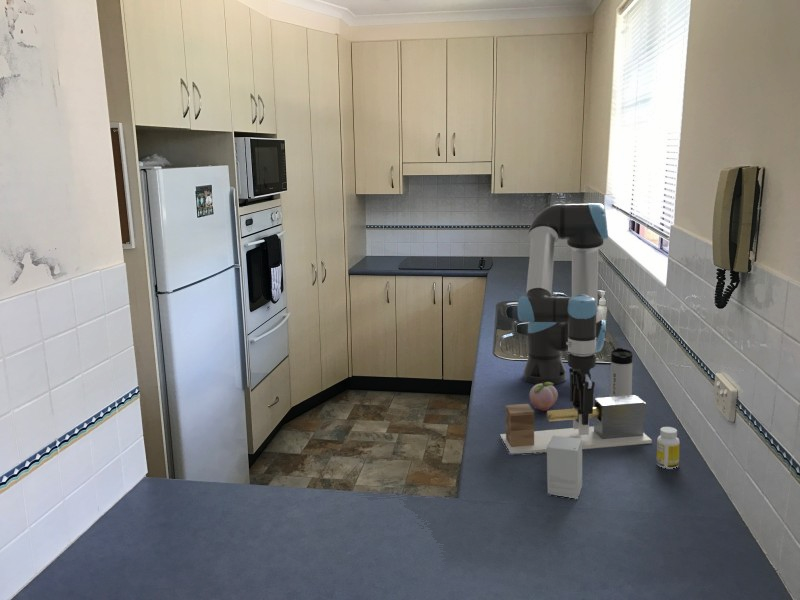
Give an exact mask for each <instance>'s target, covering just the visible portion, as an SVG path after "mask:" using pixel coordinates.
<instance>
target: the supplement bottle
mask: <svg viewBox="0 0 800 600" xmlns="http://www.w3.org/2000/svg"><path fill="white" fill-rule="evenodd" d="M659 431H660V432H659V433H660V435H658V437H657V440H656V465H657V466H658V467H659V468H661V467H662V469H665V468H666V469H665V470H674V469H673V468H675V469H677V468H678V467H679V466H680V445H681V443H680V438H678V437H677V436H678V430H677V429H676V428H675V427H672V426H663V427H661V428H660V429H659ZM676 467H677V468H676Z"/></svg>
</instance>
